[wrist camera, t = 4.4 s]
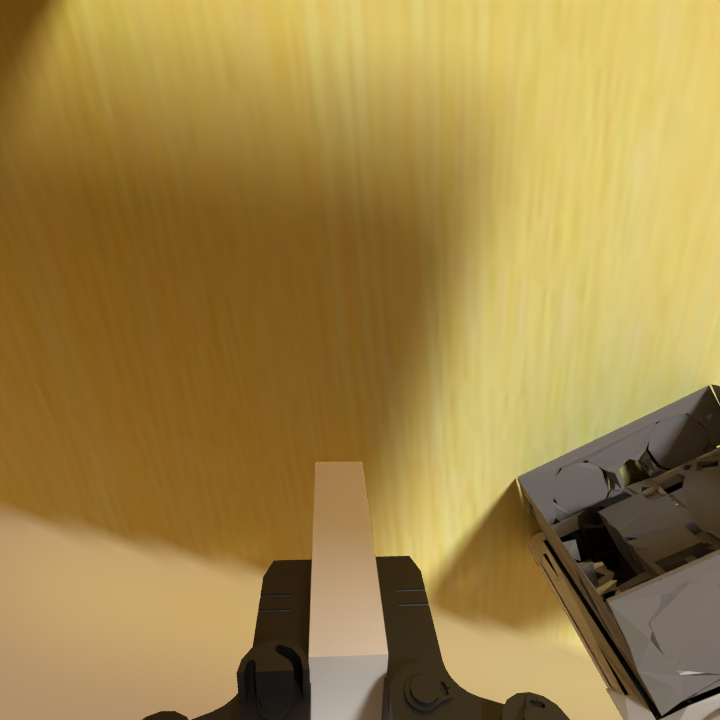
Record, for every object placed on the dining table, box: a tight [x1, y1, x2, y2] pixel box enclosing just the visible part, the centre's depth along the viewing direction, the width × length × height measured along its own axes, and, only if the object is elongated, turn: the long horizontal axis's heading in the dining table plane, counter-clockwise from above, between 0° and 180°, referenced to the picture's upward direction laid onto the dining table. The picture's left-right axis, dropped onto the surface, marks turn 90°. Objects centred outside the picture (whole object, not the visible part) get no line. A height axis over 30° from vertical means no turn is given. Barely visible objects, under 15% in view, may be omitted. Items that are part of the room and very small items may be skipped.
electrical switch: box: [518, 384, 720, 720], centre depth 14 cm, size 9×5×9 cm, turn 119°
